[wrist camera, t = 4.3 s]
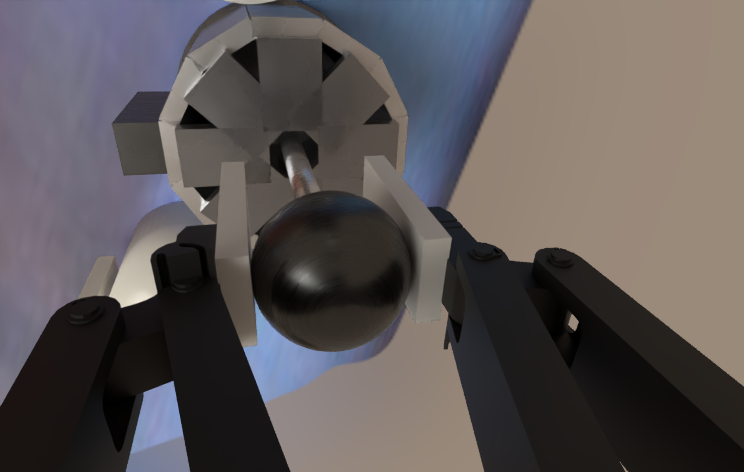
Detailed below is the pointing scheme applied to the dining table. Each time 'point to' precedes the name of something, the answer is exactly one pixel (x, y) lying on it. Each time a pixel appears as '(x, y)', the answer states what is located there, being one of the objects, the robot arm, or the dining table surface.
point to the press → (264, 110)
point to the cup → (249, 1)
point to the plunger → (325, 253)
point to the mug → (139, 257)
